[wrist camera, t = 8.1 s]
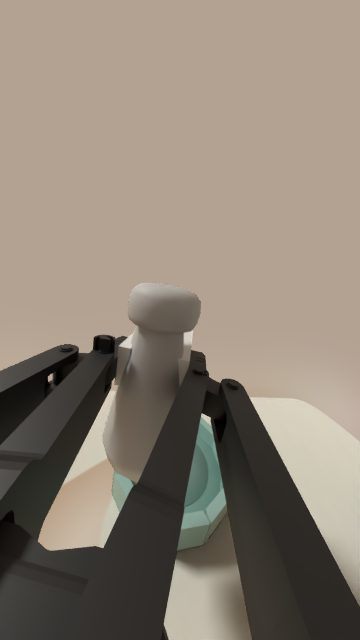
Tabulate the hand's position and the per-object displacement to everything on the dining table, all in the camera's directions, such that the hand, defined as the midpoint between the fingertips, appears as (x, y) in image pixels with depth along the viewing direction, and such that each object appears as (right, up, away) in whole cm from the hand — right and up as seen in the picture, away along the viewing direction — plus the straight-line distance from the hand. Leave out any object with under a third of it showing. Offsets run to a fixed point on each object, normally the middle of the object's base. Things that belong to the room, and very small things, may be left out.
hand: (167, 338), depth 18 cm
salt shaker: (-2, -9, -3) cm, 10 cm away
